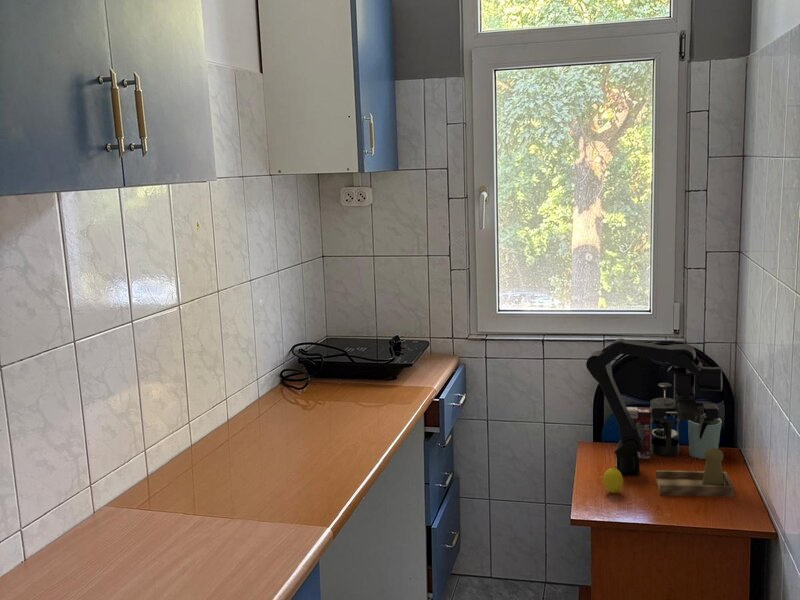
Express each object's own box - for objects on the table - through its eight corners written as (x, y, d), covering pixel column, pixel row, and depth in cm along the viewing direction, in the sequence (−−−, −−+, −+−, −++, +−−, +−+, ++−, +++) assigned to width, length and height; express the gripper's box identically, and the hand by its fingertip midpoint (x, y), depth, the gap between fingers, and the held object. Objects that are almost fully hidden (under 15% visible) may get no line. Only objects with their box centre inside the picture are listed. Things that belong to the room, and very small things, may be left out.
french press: (684, 457, 253) (685, 388, 249) (654, 458, 254) (654, 389, 249) (672, 443, 265) (673, 377, 260) (644, 444, 265) (644, 378, 261)
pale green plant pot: (684, 448, 260) (684, 413, 258) (716, 448, 259) (717, 413, 256) (691, 461, 250) (691, 425, 248) (724, 461, 249) (725, 424, 246)
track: (659, 494, 229) (659, 485, 228) (655, 479, 239) (655, 470, 238) (733, 497, 225) (733, 487, 224) (726, 481, 235) (726, 471, 234)
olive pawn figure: (728, 488, 228) (729, 452, 226) (708, 490, 227) (708, 454, 225) (717, 479, 234) (718, 444, 232) (698, 482, 233) (698, 446, 231)
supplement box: (622, 458, 256) (622, 411, 252) (622, 452, 260) (622, 406, 257) (651, 459, 254) (651, 411, 250) (649, 453, 258) (650, 406, 255)
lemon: (623, 490, 234) (623, 464, 232) (622, 498, 228) (622, 472, 227) (604, 488, 235) (603, 463, 234) (602, 496, 230) (602, 470, 229)
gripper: (654, 396, 226) (653, 448, 230) (723, 397, 223) (722, 449, 226) (649, 384, 237) (649, 433, 240) (716, 384, 233) (715, 434, 237)
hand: (683, 438), depth 235 cm, fingers open, 9 cm apart
